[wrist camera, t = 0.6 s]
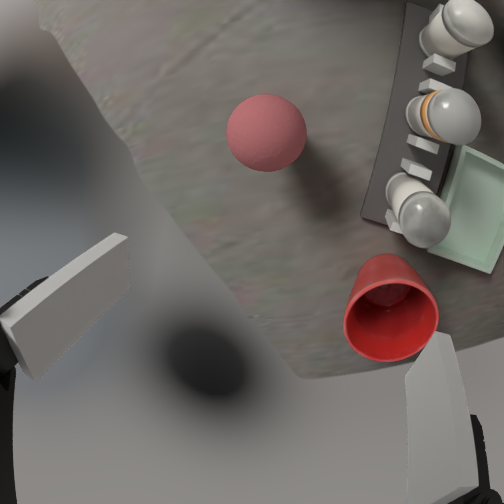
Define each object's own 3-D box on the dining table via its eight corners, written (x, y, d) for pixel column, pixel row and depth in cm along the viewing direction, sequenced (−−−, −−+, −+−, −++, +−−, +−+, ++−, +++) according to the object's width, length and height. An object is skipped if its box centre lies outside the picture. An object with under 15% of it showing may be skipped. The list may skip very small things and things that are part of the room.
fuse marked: (408, 90, 27) (436, 78, 17) (445, 104, 26) (486, 101, 16) (400, 128, 29) (425, 133, 19) (437, 142, 28) (474, 154, 18)
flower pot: (341, 311, 41) (336, 360, 33) (349, 238, 37) (349, 276, 28) (413, 317, 38) (423, 365, 30) (430, 245, 34) (451, 283, 25)
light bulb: (326, 122, 32) (319, 123, 21) (292, 171, 35) (268, 195, 25) (274, 88, 32) (241, 75, 21) (242, 137, 35) (199, 148, 25)
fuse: (390, 166, 31) (410, 187, 21) (426, 178, 30) (458, 205, 20) (380, 203, 33) (393, 239, 23) (414, 214, 32) (439, 254, 23)
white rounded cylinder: (419, 21, 22) (447, -13, 13) (455, 36, 22) (494, 10, 12) (415, 54, 25) (444, 30, 15) (451, 69, 24) (492, 53, 14)
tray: (455, 142, 28) (463, 144, 26) (518, 173, 26) (527, 177, 24) (422, 243, 34) (427, 251, 32) (483, 265, 32) (490, 274, 30)
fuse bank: (405, 4, 23) (414, -13, 18) (467, 29, 21) (484, 17, 16) (360, 214, 35) (362, 230, 30) (419, 233, 34) (429, 252, 29)
